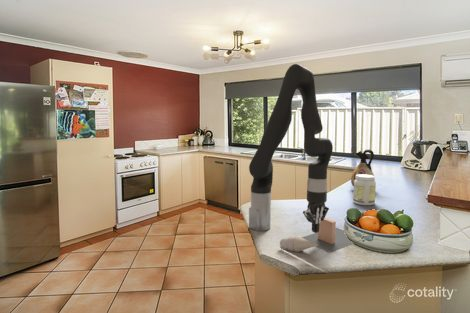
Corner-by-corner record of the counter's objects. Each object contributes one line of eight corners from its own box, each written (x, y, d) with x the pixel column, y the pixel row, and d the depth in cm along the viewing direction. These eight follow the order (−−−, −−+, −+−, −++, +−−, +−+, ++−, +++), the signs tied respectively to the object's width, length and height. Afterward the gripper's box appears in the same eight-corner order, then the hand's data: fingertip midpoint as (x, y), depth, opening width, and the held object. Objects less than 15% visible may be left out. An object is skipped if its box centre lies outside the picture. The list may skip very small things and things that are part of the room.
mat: (329, 254, 110) (329, 252, 109) (298, 239, 123) (298, 238, 123) (366, 239, 123) (366, 238, 123) (334, 228, 136) (334, 227, 136)
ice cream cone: (319, 256, 107) (281, 254, 115) (321, 241, 111) (284, 240, 119) (315, 248, 104) (276, 246, 111) (317, 233, 108) (279, 232, 115)
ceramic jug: (348, 191, 207) (350, 149, 203) (353, 187, 219) (355, 147, 216) (374, 195, 197) (377, 150, 193) (378, 190, 210) (380, 149, 206)
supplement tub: (370, 200, 183) (372, 174, 181) (377, 206, 171) (379, 177, 169) (350, 200, 184) (351, 173, 182) (356, 205, 172) (357, 177, 170)
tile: (331, 244, 117) (332, 222, 116) (317, 238, 123) (318, 217, 122) (334, 242, 118) (335, 221, 117) (321, 237, 124) (321, 216, 123)
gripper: (312, 193, 107) (311, 238, 109) (335, 188, 115) (334, 231, 117) (297, 189, 113) (296, 232, 115) (320, 185, 121) (319, 225, 123)
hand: (315, 231), depth 116 cm, fingers closed
